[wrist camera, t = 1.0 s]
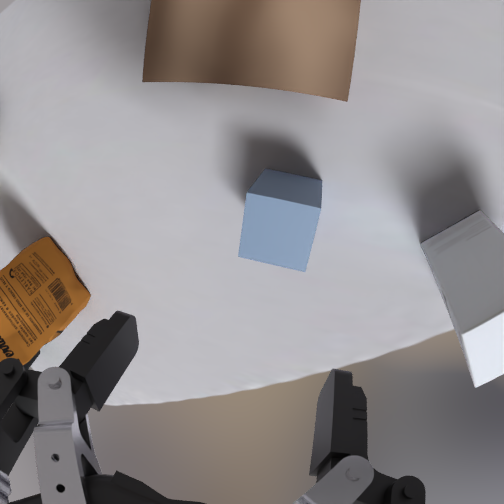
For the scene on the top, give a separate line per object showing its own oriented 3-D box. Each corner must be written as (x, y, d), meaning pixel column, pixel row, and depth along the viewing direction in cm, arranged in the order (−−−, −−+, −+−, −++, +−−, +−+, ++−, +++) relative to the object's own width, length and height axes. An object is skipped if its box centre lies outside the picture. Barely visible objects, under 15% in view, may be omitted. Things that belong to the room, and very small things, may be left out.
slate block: (322, 180, 26) (321, 208, 20) (310, 231, 29) (305, 271, 23) (265, 168, 27) (246, 192, 21) (257, 220, 29) (238, 256, 23)
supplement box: (417, 242, 27) (459, 333, 16) (480, 207, 24) (550, 280, 13) (440, 297, 29) (473, 391, 18) (496, 266, 26) (549, 348, 15)
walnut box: (356, -34, 16) (365, -75, 10) (340, 100, 23) (347, 101, 16) (206, -43, 18) (167, -77, 11) (189, 82, 25) (142, 82, 18)
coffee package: (68, 314, 44) (-14, 410, 25) (25, 251, 40) (-73, 334, 21) (100, 302, 40) (4, 418, 21) (52, 227, 36) (-70, 324, 17)
